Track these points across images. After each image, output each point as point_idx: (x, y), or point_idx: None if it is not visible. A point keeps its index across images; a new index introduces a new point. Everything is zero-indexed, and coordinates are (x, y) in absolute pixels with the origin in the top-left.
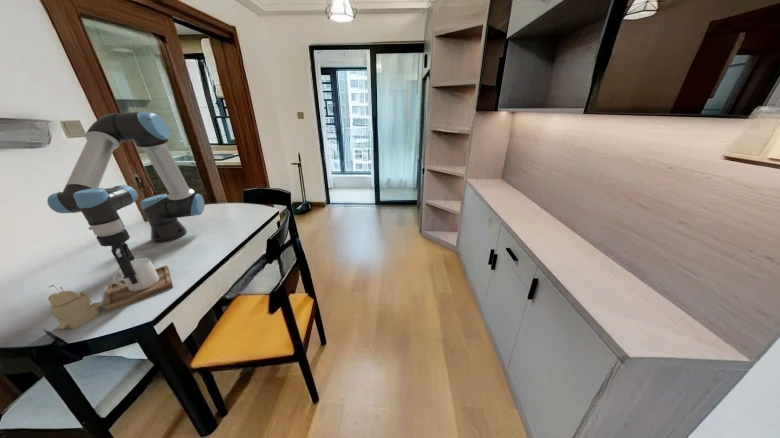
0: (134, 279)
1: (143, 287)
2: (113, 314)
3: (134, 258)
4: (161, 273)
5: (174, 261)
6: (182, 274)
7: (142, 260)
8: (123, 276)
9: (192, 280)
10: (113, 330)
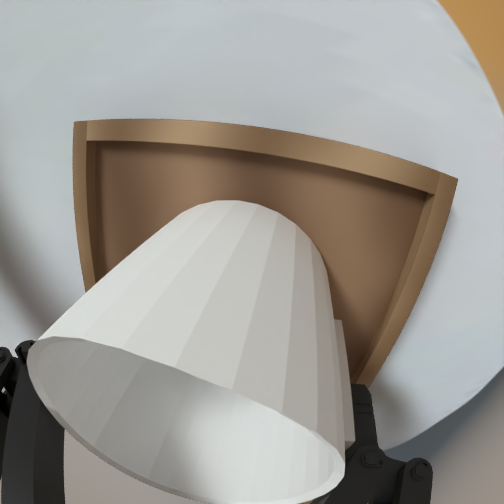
0: (370, 423)
1: (340, 325)
2: (381, 399)
3: (3, 356)
4: (156, 168)
5: (39, 89)
6: (288, 52)
7: (52, 345)
8: (254, 459)
9: (457, 61)
10: (471, 395)
